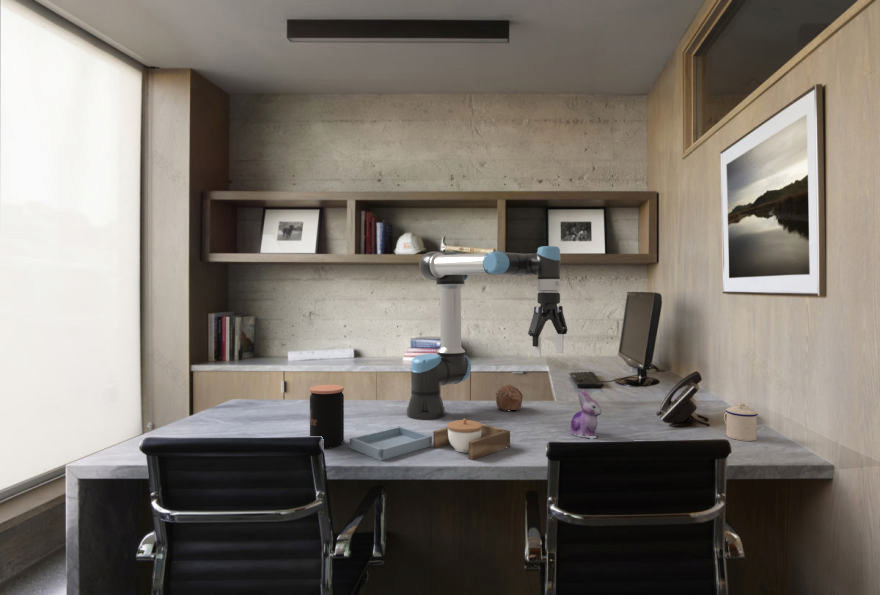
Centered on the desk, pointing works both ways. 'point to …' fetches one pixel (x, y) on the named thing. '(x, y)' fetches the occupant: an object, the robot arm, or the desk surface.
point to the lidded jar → (463, 433)
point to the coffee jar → (327, 414)
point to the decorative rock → (509, 398)
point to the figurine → (586, 416)
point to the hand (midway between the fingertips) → (548, 354)
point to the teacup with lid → (741, 422)
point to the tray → (390, 442)
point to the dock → (478, 441)
